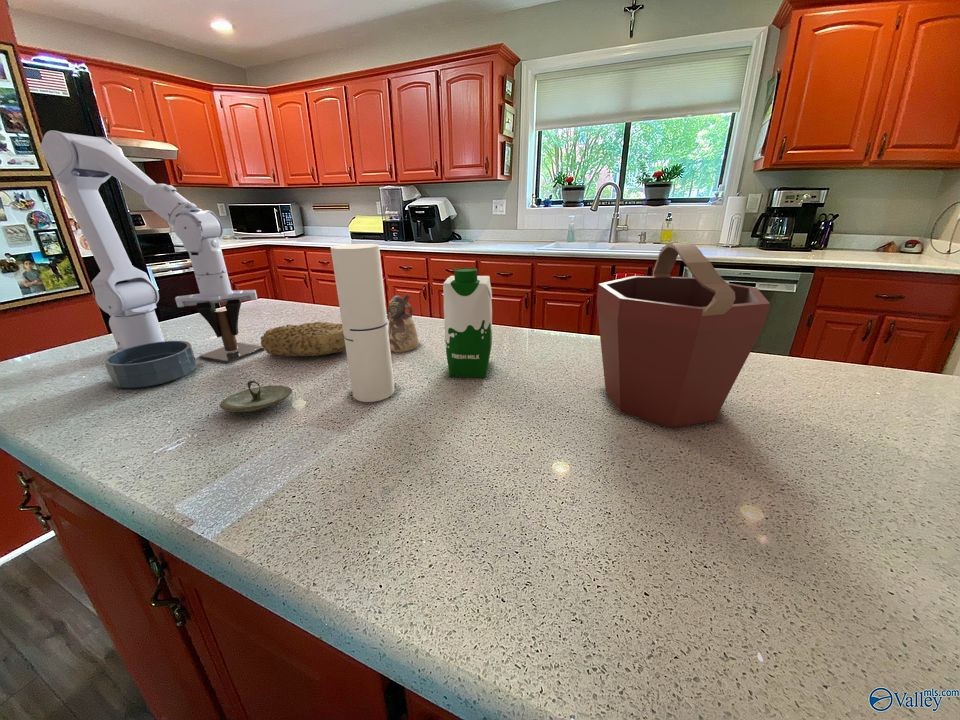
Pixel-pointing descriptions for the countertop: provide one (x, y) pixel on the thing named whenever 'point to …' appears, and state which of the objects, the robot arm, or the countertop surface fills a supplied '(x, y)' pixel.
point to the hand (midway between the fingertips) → (227, 334)
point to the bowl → (150, 363)
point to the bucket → (676, 338)
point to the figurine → (401, 325)
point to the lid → (255, 398)
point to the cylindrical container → (364, 320)
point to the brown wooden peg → (226, 330)
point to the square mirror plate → (231, 353)
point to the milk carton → (468, 323)
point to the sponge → (304, 339)
